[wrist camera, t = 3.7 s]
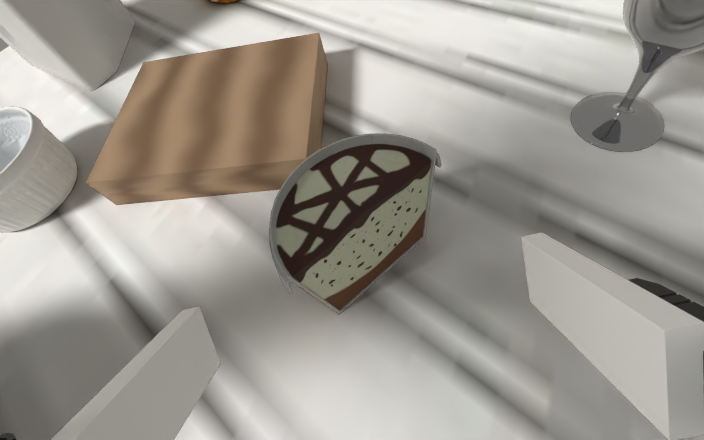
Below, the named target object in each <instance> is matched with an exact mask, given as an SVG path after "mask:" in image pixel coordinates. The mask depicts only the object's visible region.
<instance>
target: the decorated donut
mask: <svg viewBox="0 0 704 440" xmlns="http://www.w3.org/2000/svg"><path fill="white" fill-rule="evenodd" d="M209 1H212V2H217V3H224V4H228V3H231V2H235V1H238V0H209Z"/></svg>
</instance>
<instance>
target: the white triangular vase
mask: <svg viewBox="0 0 704 440" xmlns="http://www.w3.org/2000/svg"><path fill="white" fill-rule="evenodd" d="M134 25H135V20H134V19H133V17H132V16H131V14H130V13H129V12H128V10H127V9H126V7H125V6H124V5H123V3H122V2H121V1H120V0H0V38H2V39H3V40H4V41H5V42H6V43H7V44H8V45H9V46H10V47H11V48H13V49H14V50H15V51H16V52H17V53H18V54H19V55H20V56H21V57H22V58H23V59H25V60H26V61H27V62H28V63H29V64H30V65H32V66H34V67H36V68H38V69H41V70H43V71H45V72H47V73H50V74H52V75H54V76H57V77H59V78H61V79H63V80H66V81H68V82H70V83H73V84H75V85H77V86H79V87H82V88H84V89H86V90H89V91H93V90H95V89H97V88H98V87H100V86H101V85H102V84H103V83H104V82H105V81H107V80H108V79H109V78H110V77H111V76H112V75H114V74H115V73H116V71H117V70H118V68H119V65H120V63H121V60H122V57H123V54H124V52H125V49H126V46H127V44H128V41H129V38H130V36H131V33H132V30H133V28H134Z"/></svg>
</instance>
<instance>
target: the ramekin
mask: <svg viewBox="0 0 704 440" xmlns="http://www.w3.org/2000/svg"><path fill="white" fill-rule="evenodd" d="M76 178H77V165H76V161H75V158H74V157H73V155H72V153H71V152H70V151H69V150H68V149H67V148H66V147H65V146H64V145H63V144H62V143H61V142H60V141H59V140H58V139H57V138H56V137H55V136H54V135H53V134H52V133H51V132H50V131H49V130H48V129H47V128H45V127H44V126H43V124H42V122H41V120H40V119H39V118H37V117H36V116H35V115H33V114H32V113H31V112H29V111H28V110H26V109H24V108H21V107H13V106H11V107H2V108H0V233H4V232H12V231H19V230H22V229H25V228H28V227H30V226H33V225H35V224H37V223H38V222H40V221H42V220H43V219H45V218H46V217H48V216H49V215H50V214H51V213H53V212H54V211H55V210H56V209H57V208H58V207H59V206H60V205H61V204H62V203H63V202H64V201H65V199H66V198H67V197H68V195H69V194H70V192H71V190H72V189H73V187H74V184H75V182H76Z"/></svg>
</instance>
